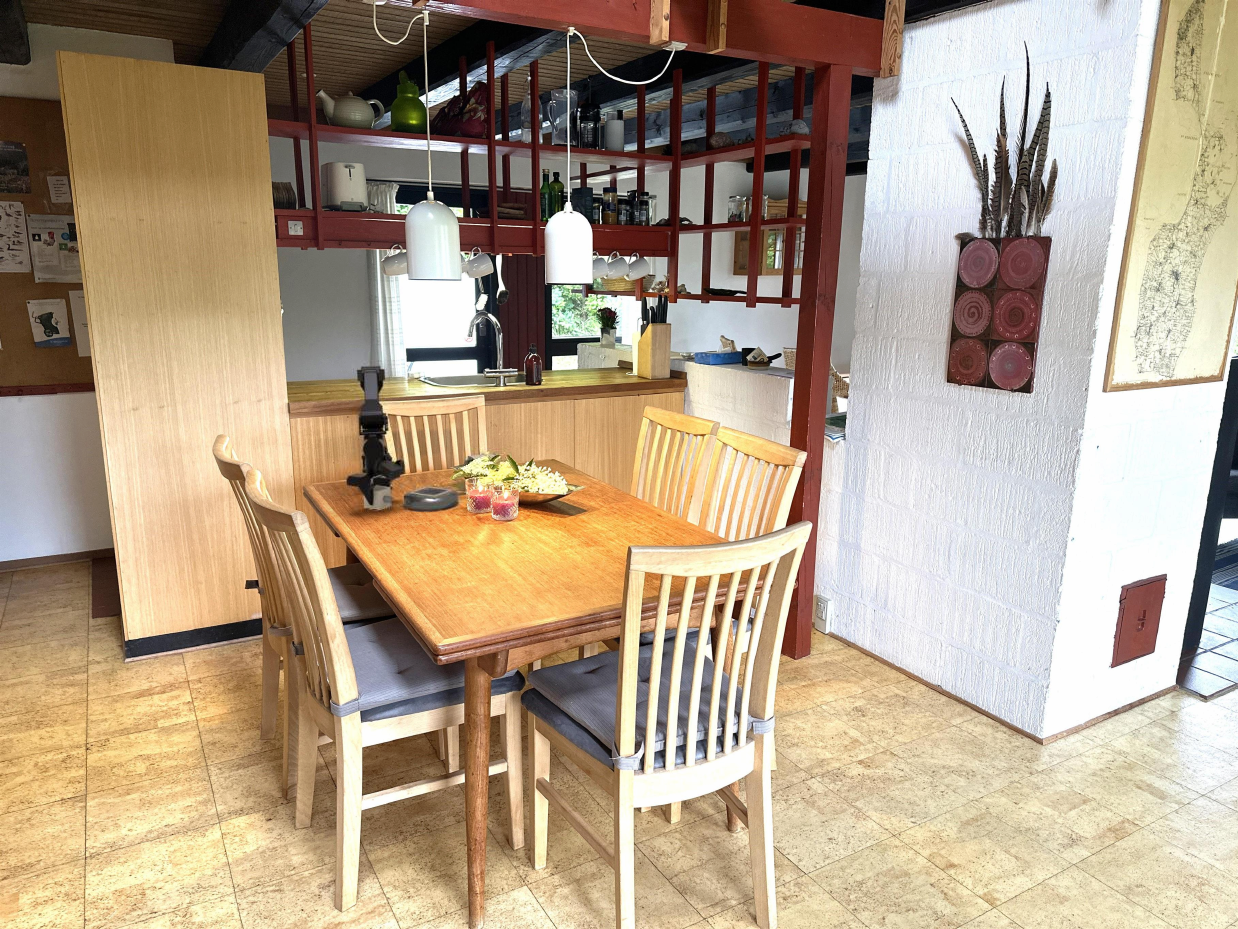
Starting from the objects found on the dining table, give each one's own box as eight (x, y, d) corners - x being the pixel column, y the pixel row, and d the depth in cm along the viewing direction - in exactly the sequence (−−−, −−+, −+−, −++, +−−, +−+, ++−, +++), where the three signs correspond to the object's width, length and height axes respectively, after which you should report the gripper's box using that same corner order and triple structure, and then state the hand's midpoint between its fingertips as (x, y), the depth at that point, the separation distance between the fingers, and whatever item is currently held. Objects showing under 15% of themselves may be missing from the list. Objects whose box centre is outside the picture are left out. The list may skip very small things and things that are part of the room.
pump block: (364, 508, 252) (363, 488, 250) (375, 504, 256) (374, 484, 255) (385, 511, 248) (384, 491, 247) (396, 507, 253) (395, 488, 251)
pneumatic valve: (464, 489, 273) (463, 453, 271) (498, 485, 279) (497, 449, 276) (469, 493, 269) (468, 456, 266) (504, 489, 274) (503, 452, 271)
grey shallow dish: (392, 507, 253) (392, 494, 252) (427, 494, 267) (426, 482, 266) (436, 514, 246) (435, 500, 245) (469, 501, 260) (468, 488, 259)
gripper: (373, 460, 237) (377, 514, 241) (416, 448, 253) (419, 498, 257) (343, 457, 242) (347, 509, 245) (387, 445, 258) (390, 494, 262)
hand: (377, 503), depth 252 cm, fingers closed on pump block, 5 cm apart
